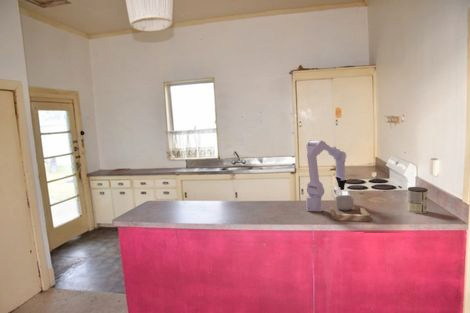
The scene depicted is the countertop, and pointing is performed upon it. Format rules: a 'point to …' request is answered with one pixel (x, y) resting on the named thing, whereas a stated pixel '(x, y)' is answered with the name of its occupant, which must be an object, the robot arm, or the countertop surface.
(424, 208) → the coffee can
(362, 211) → the wooden bay
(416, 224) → the countertop surface
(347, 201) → the teacup
